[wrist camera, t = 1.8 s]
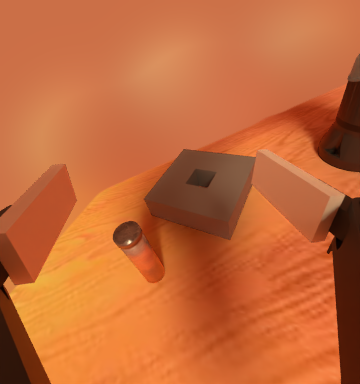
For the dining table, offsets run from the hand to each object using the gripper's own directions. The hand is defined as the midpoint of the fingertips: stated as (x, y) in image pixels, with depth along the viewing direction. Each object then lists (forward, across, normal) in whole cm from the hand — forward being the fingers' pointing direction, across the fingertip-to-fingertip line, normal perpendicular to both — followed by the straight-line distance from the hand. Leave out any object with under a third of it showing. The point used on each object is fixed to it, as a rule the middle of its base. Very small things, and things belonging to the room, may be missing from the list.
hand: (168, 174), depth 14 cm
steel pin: (+14, -2, -27) cm, 31 cm away
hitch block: (+29, +12, -20) cm, 38 cm away
